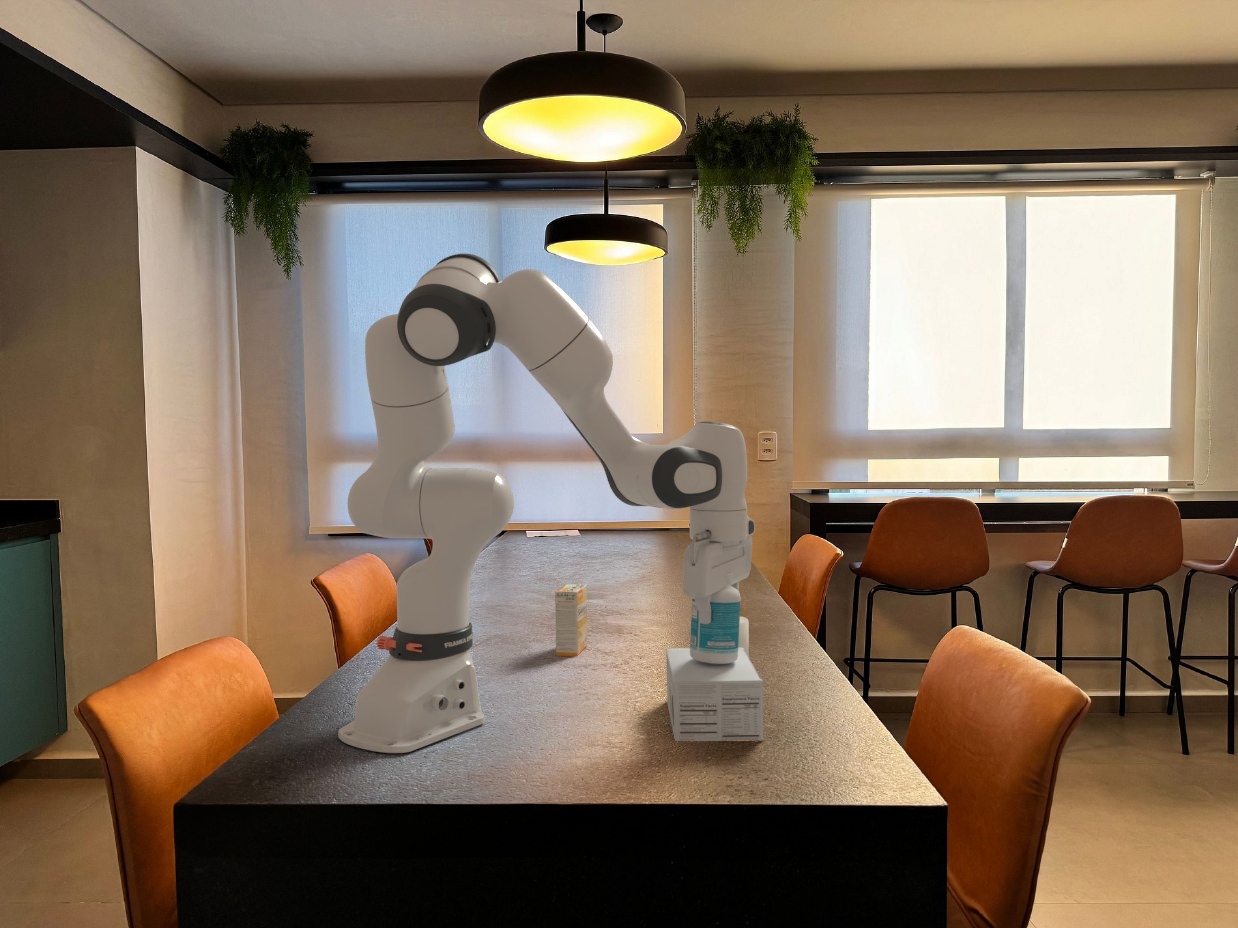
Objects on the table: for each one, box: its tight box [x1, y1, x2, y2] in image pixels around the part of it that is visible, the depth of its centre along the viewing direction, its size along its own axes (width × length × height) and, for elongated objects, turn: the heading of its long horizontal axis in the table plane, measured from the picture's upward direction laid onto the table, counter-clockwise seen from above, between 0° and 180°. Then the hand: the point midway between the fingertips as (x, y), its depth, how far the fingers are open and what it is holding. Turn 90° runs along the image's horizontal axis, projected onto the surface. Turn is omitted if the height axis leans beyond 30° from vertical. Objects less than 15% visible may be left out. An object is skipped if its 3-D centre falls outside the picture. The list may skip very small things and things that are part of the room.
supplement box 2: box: [665, 647, 764, 742], centre depth 122 cm, size 17×13×9 cm
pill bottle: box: [689, 573, 741, 664], centre depth 122 cm, size 8×7×14 cm
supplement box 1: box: [554, 583, 588, 657], centre depth 161 cm, size 8×5×13 cm, turn 168°
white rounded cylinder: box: [738, 616, 750, 658], centre depth 149 cm, size 8×8×9 cm
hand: (718, 615), depth 122 cm, fingers open, 8 cm apart
